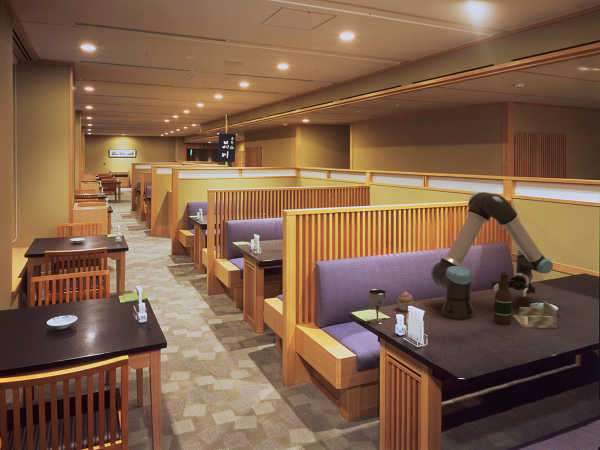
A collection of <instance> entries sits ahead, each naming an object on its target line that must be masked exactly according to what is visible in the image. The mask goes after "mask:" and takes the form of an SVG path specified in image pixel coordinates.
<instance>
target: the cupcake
mask: <svg viewBox="0 0 600 450" xmlns="http://www.w3.org/2000/svg"><path fill="white" fill-rule="evenodd" d="M396 303H397V304H398V310H399V311H401V312H404V313H405V312H409V311H408V310H407V309H408V306H409V305H413V306H414V305H415V303H416V302H415V300H414V299H413V295H412V294H410V293H409V292H408V291H406V290H404V292H402V293H401V294H400V295H399V296H398V299H396Z"/></svg>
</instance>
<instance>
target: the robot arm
mask: <svg viewBox="0 0 600 450" xmlns="http://www.w3.org/2000/svg"><path fill="white" fill-rule="evenodd" d="M467 205H468V209H467V212H466V213H467V218H466V219H465V221H464V223H463V225H462V227H461V228H460V230H459V232H458V234H457V235H456V238H455V240H454V241H453V243H452V245H451V247H450V249H449V251H448V253H447V255H446V256H443V257H441V259H440V260H439V262H436V263H434V265H433V266H432V267H431V270H430V276H431V279H432V281H433V282H434V283H435V284H436V285H437V286H440V287H442V288H443V289H444V290H445V299H444V303H443V305H442V308H441V315H442V316H444V317H446V318H449V319H453V320H469V319H470V320H471V319H473V317H474V307H473V305H472V302H471V301H472V300H471V289H472V273H471V271H470V270H469V269H468V268H466V267H464V266H463V262H464V260H465V259H466V257H467V255H468V254H469V251H470V249H471V247H472V245H473V244H474V242H475V240H476V238H477V237H478V234H479V233H480V231H481V230H482V228H483V226H484V224H486V223H489V221H490V219H491V218H492V219H494V220H495V221H497V223H498V224H499V225H500V226H503V228H504V230H505V231H506V232H507V234H508V235H509V236H510V238H511V239H512V241H513V242H514V244H516V246H517V247H518V249H517V253H516V267H515V268H516V269H515V275H514V276H513V277H511V278H510V280H508V288H509V289H514V290H515V291H523V292H522V297H526V296H527V295H529V294H536V288H535V287H534V286H533V285H532V283H531V282H532V280H533V278H534V274H533V272H532V271H535V272H538V273H539V274H545V275H547V274H549V273H550V272H552V271H553V269H554V264H553V262H552V260H550V259H549V258H546V257H545V256H544V254H543V253H542V251H541V250H540V248H539V247H538V246H537V244H536V243H535V242H534V239H532V237H531V236H530V234H529V232H528V231H527V230H526V228H525V227H524V226H523V224H522V223H521V221H520V219H519V218H518V213H517V211H516V210H515V209H514V208H513V206H512V204H511V203H510V202H509V201H508V200H507V199H506V198H505V197H504V196H502V195H501V194H497V193H489V192H486V191H482V192H476V193H474V194H473V195H471V197H470V198H469V200H468V203H467ZM499 287H500V280H497V281H492V282H491V288H493V289H492V290H493V293H497V291H498V290H499Z"/></svg>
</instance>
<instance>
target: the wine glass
mask: <svg viewBox="0 0 600 450" xmlns="http://www.w3.org/2000/svg"><path fill="white" fill-rule="evenodd" d="M386 294H387V292H386V290H384V289H379V288H377V289H376V288H374V289H370V290H368V297H369V302H370V304H371V305H372V306H373V307H374V309H375V313H376V318H372V319H370V320H369V322H370V323H371V324H374V325H382V324H384V323H385V322H386V321H385V320H384V319H382V318H379V311H380V309H381V308H382V306H383V305H385V302H386V299H387V298H386V297H387V295H386Z"/></svg>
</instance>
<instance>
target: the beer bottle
mask: <svg viewBox="0 0 600 450" xmlns="http://www.w3.org/2000/svg"><path fill="white" fill-rule="evenodd" d="M499 275H500V280H499V281H500V287H499V289H498V290H497V291H496V292H495V295H494V305H493V307H494V308H493V309H494V310H493V312H494V313H493V322H495V323H497V324H498V325H499V324H500V325H510V324H511V322H512V317H513V314H512V312H513V294H512V293H511V291H510V288H508V281H509V272H506V271H505V272H504V271H503V272H500V274H499Z"/></svg>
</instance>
